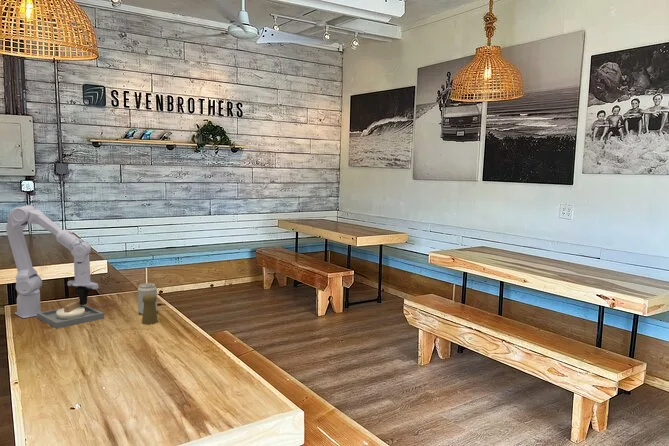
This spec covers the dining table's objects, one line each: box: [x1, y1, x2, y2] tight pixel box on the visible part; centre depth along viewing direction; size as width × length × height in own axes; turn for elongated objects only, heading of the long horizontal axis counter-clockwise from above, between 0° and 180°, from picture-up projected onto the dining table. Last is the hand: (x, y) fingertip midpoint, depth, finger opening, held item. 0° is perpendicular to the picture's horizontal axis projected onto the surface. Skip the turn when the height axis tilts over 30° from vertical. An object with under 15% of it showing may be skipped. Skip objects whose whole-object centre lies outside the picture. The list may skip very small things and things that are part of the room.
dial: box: [56, 298, 85, 319], centre depth 200 cm, size 10×13×4 cm
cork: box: [141, 294, 159, 325], centre depth 197 cm, size 6×6×11 cm
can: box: [137, 282, 158, 315], centre depth 209 cm, size 8×8×12 cm
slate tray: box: [36, 304, 105, 329], centre depth 199 cm, size 18×18×2 cm
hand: (83, 304), depth 205 cm, fingers closed, pressing on dial
